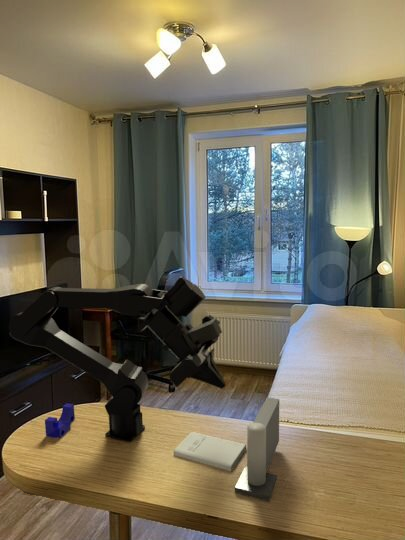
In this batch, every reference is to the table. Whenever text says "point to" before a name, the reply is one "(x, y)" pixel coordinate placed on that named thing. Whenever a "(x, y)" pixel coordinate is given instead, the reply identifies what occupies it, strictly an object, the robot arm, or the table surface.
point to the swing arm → (262, 441)
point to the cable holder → (60, 422)
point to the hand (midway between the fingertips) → (224, 386)
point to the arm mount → (256, 491)
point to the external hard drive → (210, 450)
